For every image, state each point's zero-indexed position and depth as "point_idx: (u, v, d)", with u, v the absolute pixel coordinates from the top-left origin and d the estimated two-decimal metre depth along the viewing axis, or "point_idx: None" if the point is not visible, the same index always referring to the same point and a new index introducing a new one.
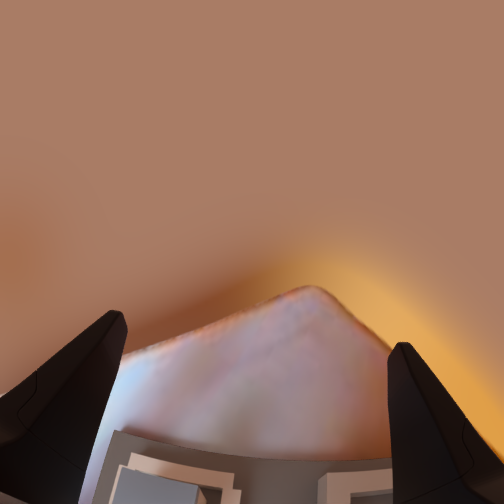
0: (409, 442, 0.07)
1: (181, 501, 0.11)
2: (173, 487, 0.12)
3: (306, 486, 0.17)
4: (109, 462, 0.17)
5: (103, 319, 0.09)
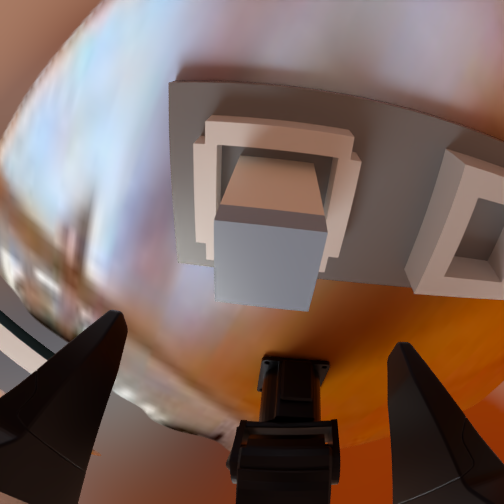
0: (409, 442, 0.07)
1: (305, 255, 0.11)
2: (293, 238, 0.11)
3: (431, 154, 0.15)
4: (176, 132, 0.16)
5: (103, 318, 0.09)
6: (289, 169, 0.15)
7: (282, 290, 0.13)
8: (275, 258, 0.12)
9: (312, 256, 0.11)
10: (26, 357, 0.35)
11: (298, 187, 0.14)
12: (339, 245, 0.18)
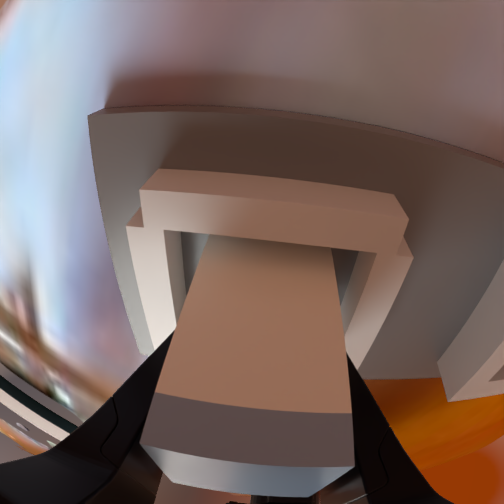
0: None
1: (309, 479, 0.05)
2: (290, 471, 0.05)
3: None
4: (108, 196, 0.10)
5: None
6: (290, 269, 0.09)
7: (270, 490, 0.06)
8: (257, 478, 0.05)
9: (321, 478, 0.05)
10: (5, 398, 0.29)
11: (306, 325, 0.07)
12: (360, 360, 0.11)
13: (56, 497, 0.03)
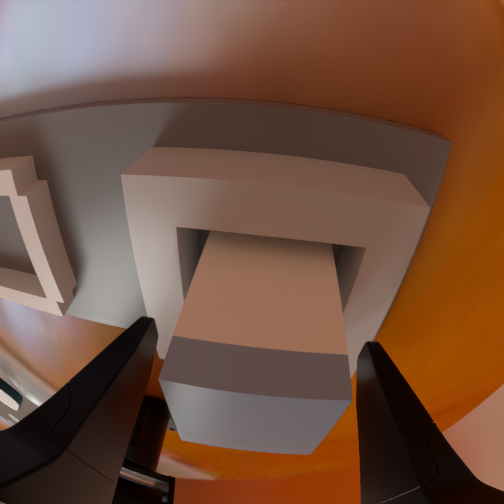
0: (375, 445, 0.07)
1: (311, 420, 0.06)
2: (294, 406, 0.06)
3: (133, 160, 0.11)
4: None
5: (136, 326, 0.09)
6: (291, 239, 0.10)
7: (274, 442, 0.07)
8: (263, 421, 0.07)
9: (322, 420, 0.06)
10: None
11: (306, 283, 0.09)
12: (57, 290, 0.13)
13: (4, 467, 0.03)
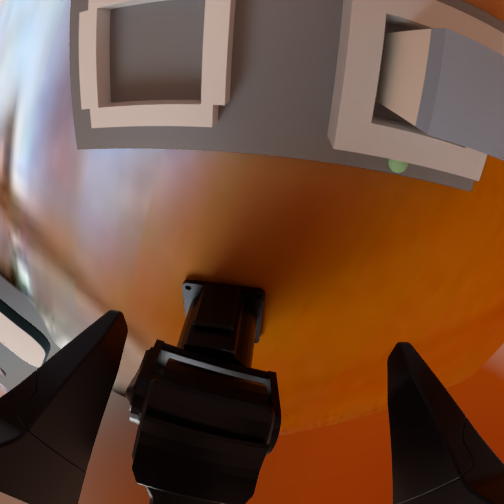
0: (409, 442, 0.07)
1: None
2: None
3: None
4: (75, 16, 0.12)
5: (103, 318, 0.09)
6: None
7: (492, 127, 0.08)
8: (492, 85, 0.07)
9: None
10: None
11: None
12: (222, 88, 0.14)
13: None
